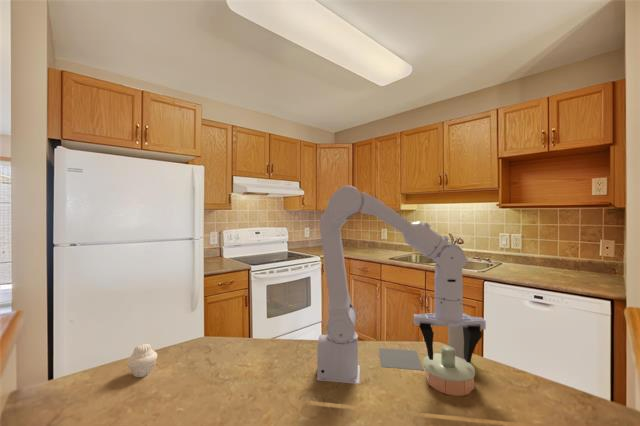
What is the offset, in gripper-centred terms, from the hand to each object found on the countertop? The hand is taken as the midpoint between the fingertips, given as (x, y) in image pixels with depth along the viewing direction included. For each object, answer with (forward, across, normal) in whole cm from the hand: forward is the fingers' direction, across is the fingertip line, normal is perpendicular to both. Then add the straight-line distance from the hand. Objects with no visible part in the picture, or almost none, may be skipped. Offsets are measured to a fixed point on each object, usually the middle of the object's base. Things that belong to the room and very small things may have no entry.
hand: (448, 359), depth 63 cm
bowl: (+6, 0, 0) cm, 6 cm away
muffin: (+6, -70, -6) cm, 71 cm away
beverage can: (+6, +6, +12) cm, 14 cm away
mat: (+6, -10, +10) cm, 15 cm away
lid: (+2, 0, 0) cm, 2 cm away
